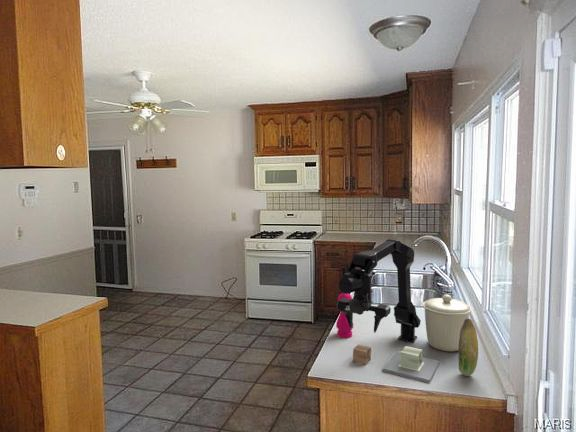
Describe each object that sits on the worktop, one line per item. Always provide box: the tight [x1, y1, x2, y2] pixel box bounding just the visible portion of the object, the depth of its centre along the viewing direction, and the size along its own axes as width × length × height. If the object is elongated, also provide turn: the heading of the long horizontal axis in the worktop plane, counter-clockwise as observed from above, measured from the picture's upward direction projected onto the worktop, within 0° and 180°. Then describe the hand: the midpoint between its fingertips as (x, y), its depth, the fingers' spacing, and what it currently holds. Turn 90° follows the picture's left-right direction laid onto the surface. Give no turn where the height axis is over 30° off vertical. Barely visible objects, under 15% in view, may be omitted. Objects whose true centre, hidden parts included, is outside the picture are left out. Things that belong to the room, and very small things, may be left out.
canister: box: [422, 294, 473, 352], centre depth 162 cm, size 18×18×21 cm
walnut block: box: [352, 343, 372, 366], centre depth 150 cm, size 5×5×5 cm
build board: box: [381, 351, 441, 384], centre depth 145 cm, size 16×16×1 cm
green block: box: [401, 345, 423, 370], centre depth 145 cm, size 6×6×5 cm
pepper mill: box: [335, 292, 354, 339], centre depth 173 cm, size 7×7×20 cm
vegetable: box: [457, 317, 479, 377], centre depth 137 cm, size 6×6×20 cm
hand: (362, 329), depth 149 cm, fingers open, 9 cm apart
